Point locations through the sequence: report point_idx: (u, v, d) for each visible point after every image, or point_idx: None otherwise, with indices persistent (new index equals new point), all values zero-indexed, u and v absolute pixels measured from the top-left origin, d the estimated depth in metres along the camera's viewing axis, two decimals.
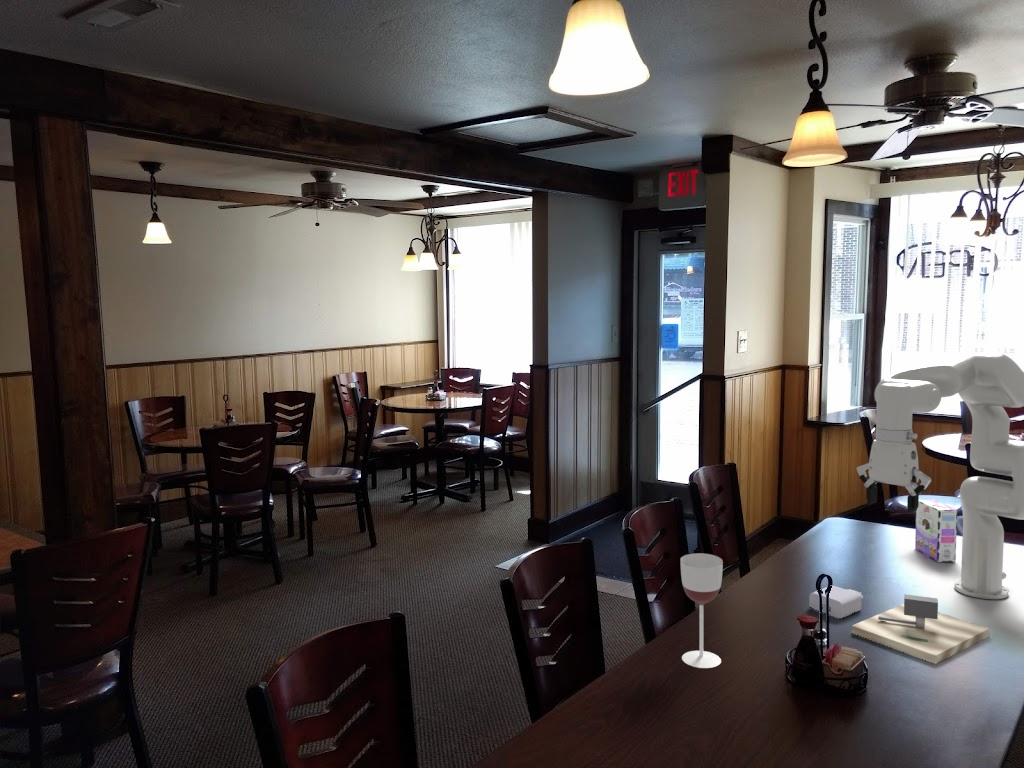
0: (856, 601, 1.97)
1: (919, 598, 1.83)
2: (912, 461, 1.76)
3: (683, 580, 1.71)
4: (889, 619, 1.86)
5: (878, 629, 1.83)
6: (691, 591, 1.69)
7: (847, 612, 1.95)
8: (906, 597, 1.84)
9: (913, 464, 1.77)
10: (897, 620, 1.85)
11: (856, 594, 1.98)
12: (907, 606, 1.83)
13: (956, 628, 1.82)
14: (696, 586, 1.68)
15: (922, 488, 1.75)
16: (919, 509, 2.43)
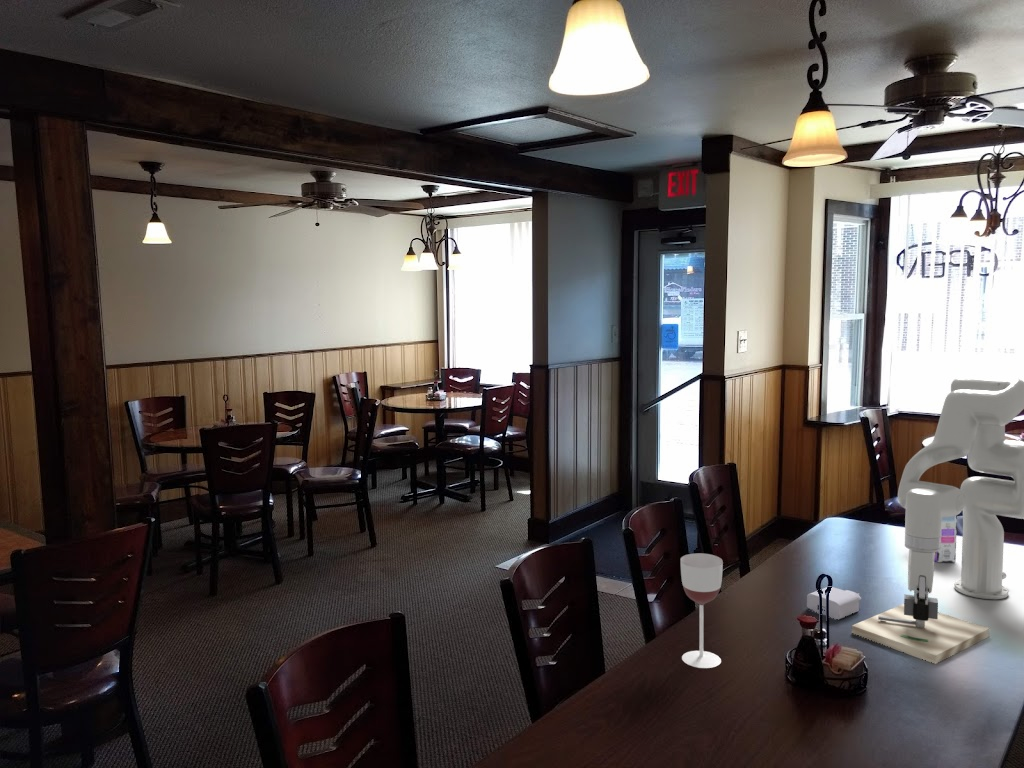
0: (853, 602, 1.96)
1: None
2: None
3: (683, 580, 1.71)
4: (889, 619, 1.86)
5: (878, 629, 1.83)
6: (691, 591, 1.69)
7: (844, 613, 1.94)
8: (906, 597, 1.84)
9: None
10: (897, 620, 1.85)
11: (854, 595, 1.98)
12: (907, 606, 1.83)
13: (956, 628, 1.82)
14: (696, 586, 1.68)
15: None
16: None
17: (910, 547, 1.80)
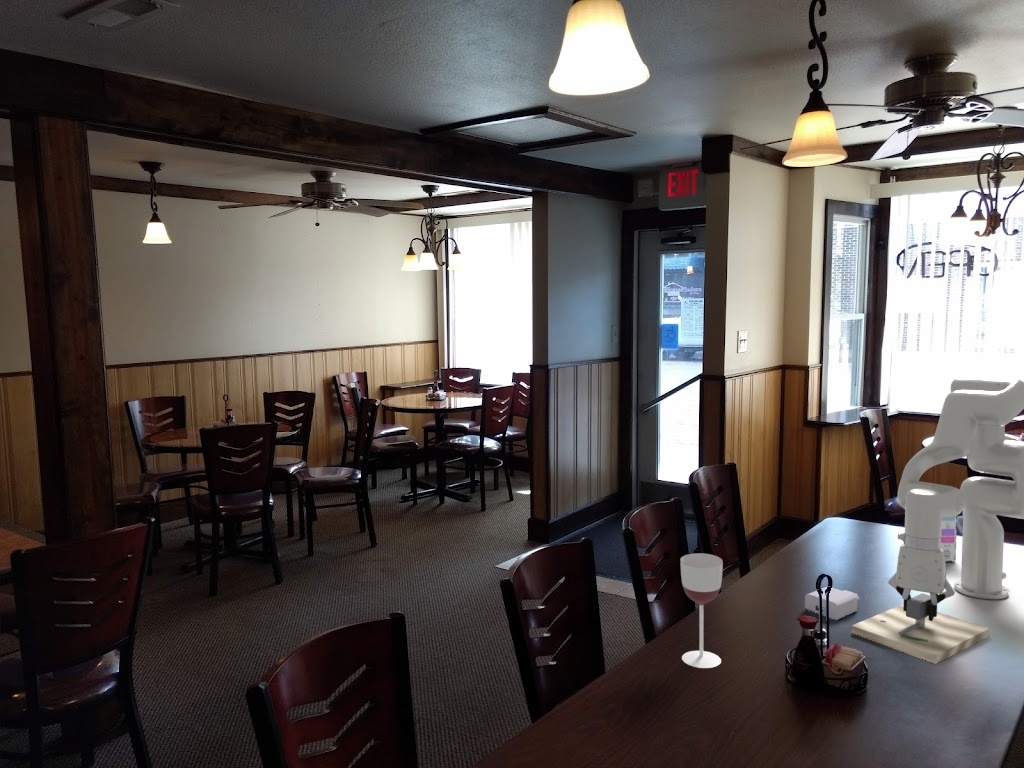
0: (851, 602, 1.96)
1: (920, 598, 1.83)
2: None
3: (683, 580, 1.71)
4: (907, 630, 1.79)
5: (878, 629, 1.83)
6: (691, 591, 1.69)
7: (842, 614, 1.94)
8: (915, 602, 1.81)
9: None
10: (911, 629, 1.80)
11: (852, 595, 1.98)
12: (920, 610, 1.80)
13: (956, 628, 1.82)
14: (696, 586, 1.68)
15: None
16: None
17: (933, 550, 1.78)
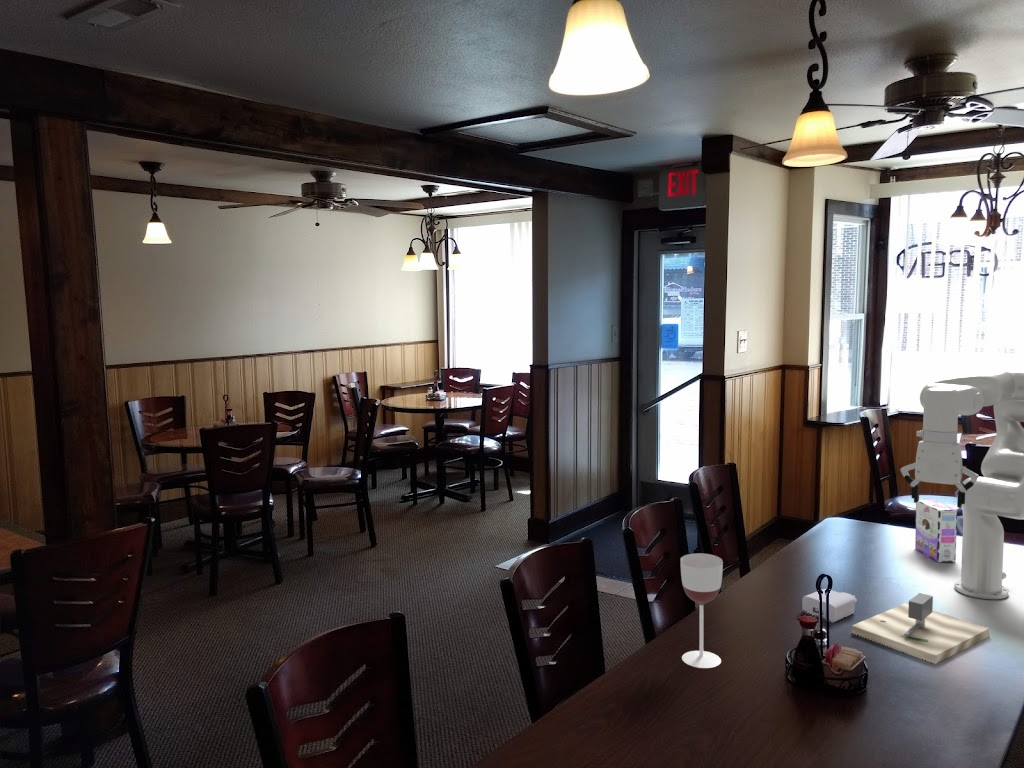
0: (849, 604, 1.95)
1: (920, 599, 1.83)
2: None
3: (683, 580, 1.71)
4: (911, 632, 1.79)
5: (878, 629, 1.83)
6: (691, 591, 1.69)
7: (840, 616, 1.93)
8: (918, 602, 1.80)
9: None
10: (914, 630, 1.80)
11: (849, 597, 1.96)
12: (923, 611, 1.80)
13: (956, 628, 1.82)
14: (696, 586, 1.68)
15: None
16: (919, 509, 2.43)
17: (950, 443, 1.89)
